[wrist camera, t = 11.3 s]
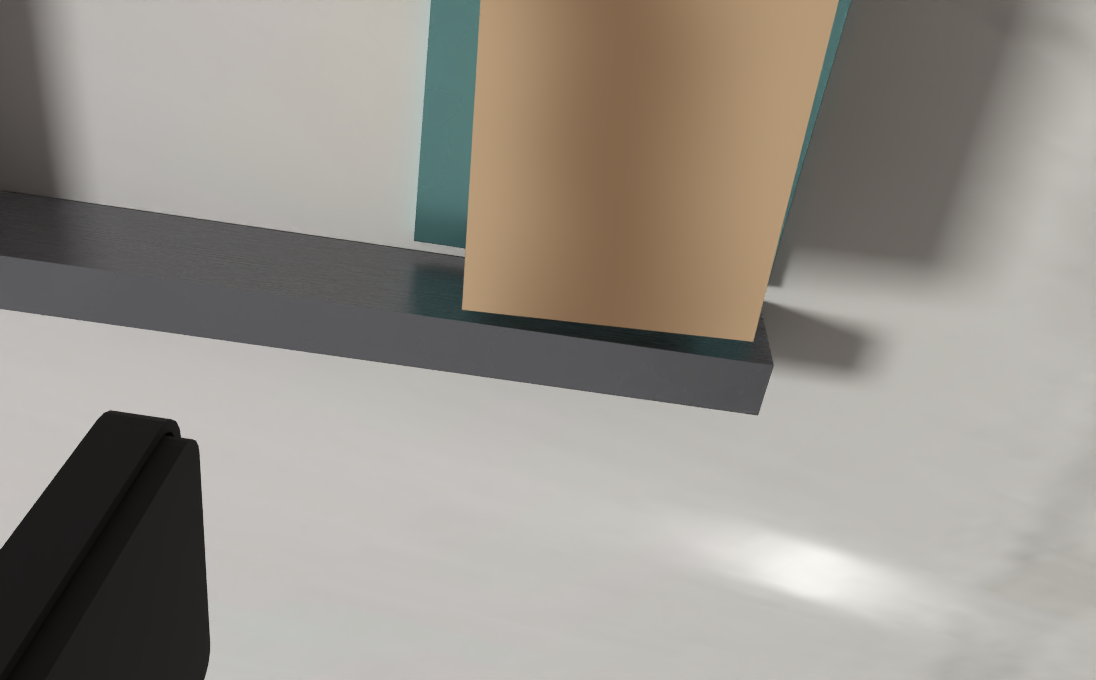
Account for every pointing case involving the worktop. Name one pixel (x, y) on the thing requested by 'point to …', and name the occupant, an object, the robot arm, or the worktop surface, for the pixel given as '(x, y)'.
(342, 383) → the worktop surface
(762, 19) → the tan cardboard box
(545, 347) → the bay
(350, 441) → the worktop surface
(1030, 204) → the worktop surface
